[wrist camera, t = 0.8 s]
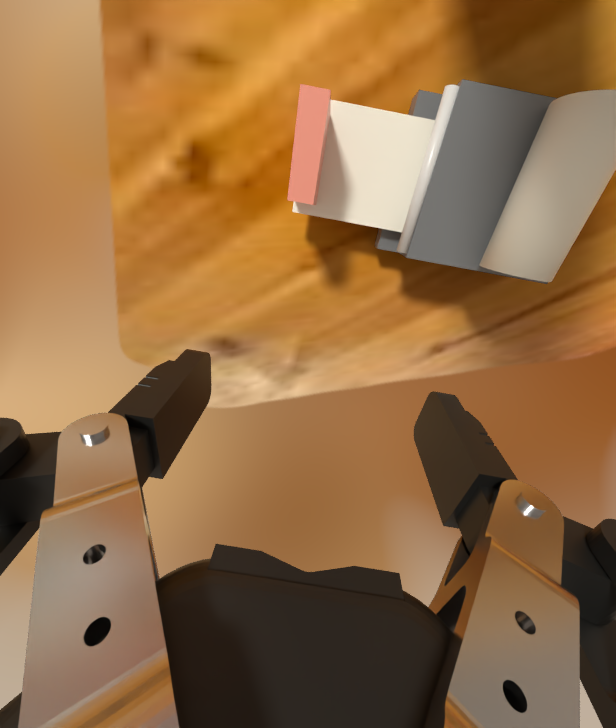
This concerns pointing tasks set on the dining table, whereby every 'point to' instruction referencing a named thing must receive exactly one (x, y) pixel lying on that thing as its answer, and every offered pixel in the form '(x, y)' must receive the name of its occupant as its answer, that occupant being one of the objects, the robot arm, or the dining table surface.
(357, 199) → the pink-tipped cream block
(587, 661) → the robot arm
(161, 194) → the dining table surface
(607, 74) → the dining table surface
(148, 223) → the dining table surface
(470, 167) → the dispenser
